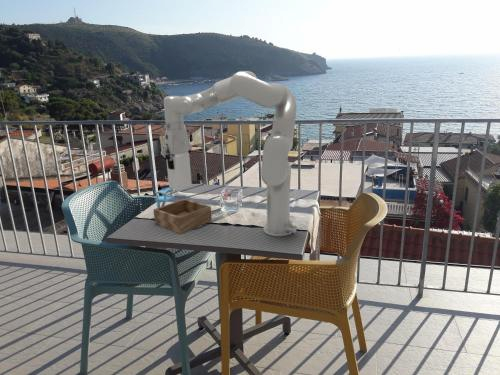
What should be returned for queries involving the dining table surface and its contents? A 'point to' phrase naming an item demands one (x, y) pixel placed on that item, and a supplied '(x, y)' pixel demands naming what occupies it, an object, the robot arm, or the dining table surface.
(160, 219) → the wooden crate
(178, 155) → the milk carton
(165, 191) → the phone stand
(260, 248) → the dining table surface
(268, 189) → the robot arm
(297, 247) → the dining table surface
